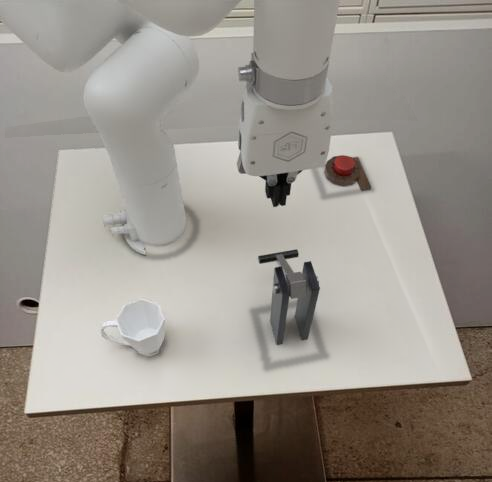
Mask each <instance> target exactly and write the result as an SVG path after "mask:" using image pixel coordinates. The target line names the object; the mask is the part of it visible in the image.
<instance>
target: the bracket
mask: <svg viewBox="0 0 492 482" xmlns="http://www.w3.org/2000/svg"><path fill="white" fill-rule="evenodd" d="M273 269H274V270H273V281H272V293H271V305H270V316H269V317H270V318H269V322H270V327H271V330H272V334H273V338H274V341H275V345H276V346H278V345H283V343H284V336H285V330H286V325H287V324H286V323H287V318H288V317H287V316H288V308H289V304H290V303H289V302H290V292H289V289H288V286H287V282H286V279H285V276H284V272H283V269H282V266H280V267H279V266H276V267H274V268H273ZM301 271H302V272H301V273H302V275H303V276H304V278H305V279H306V285H307V296H305V297H300V298H297V300H296V306H295V312H294V319H295V323H296V326H297V330H298V333H299V335H300V340H301V341H305V340H308V339H309V336H310V332H311V327H312V323H313V319H314V315H315V311H316V306H317V303H318V298H319V295H320V289H321V286H320V280H319V277H318V275H316V271H315V269H314V266H313V262H312V261H311V260H309V261H304V262H303V266H302V270H301Z"/></svg>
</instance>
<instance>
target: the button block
mask: <svg viewBox="0 0 492 482" xmlns="http://www.w3.org/2000/svg"><path fill="white" fill-rule="evenodd" d="M343 155H344V154H341V155H334V156H333V157H331V158H329V159H327V160H326V164H325V167H324V171H323V172H324V175H325V178H326V180H327V181H328V182H330V183H331V184H333V185H335V186H339V187H349V186H353V185H354V184H355V183H357V185H358V187H359V188H358V189H359V190H360V191H361V192H364V191H365V192H366V191H371V189H372V185H371V182H370V181H369V178H368V176H367V174H366V172H365V169H364V167H363V165H362V163H361V161H360V158H359V156H355V157H352V156H350V157H351V158H352V159H353V160H354V162H355V164H354V168H353V172H352V174H351V175H349V176H345V177H343V176H339V175H337V174H336V173H335V172H334V169H333V168H334V163H335V160H336V158H337V157H339V156H343Z"/></svg>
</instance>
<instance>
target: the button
mask: <svg viewBox="0 0 492 482" xmlns="http://www.w3.org/2000/svg"><path fill="white" fill-rule="evenodd" d="M342 155H343V156H340V155H338V156H339V157H337V158H336V160H335V163H334V168H332V169H333V172H334V173H335V174H337V175H339V176H343V177H345V176H350V175H351V174H353V168H354V164H355V162H354V160H353V159H352V158H353V157H352V156H350V155H344V154H342ZM351 157H352V158H351Z"/></svg>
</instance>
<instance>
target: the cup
mask: <svg viewBox="0 0 492 482" xmlns="http://www.w3.org/2000/svg"><path fill="white" fill-rule="evenodd" d="M100 326H101V327H100V334H101V337H102V338H103V339H105V340H106V341H109V342H111V343H115V344H119V345H123V346H128V347H132V348H133V349H135V350H136V351H138V354H140V355H143V356H145V357H148V358H150V357H152V356H155V355H157V354H160V352H161V346H162V344H163V342H164V341H165V336H166V318H165V314H164V313H163V310H162V307H161V305H160V303H158V302H155V301H153V300H149V299H146V298H144V297H141V298H139V299H136V300H133V301H130V302H127V303H125V304H123V306H122V308H121V309H120V311H119V313H118V315H117V317H116V318H115V319H114V320H106V321H104V322H103V323H101V325H100ZM108 327H112V328H113V327H114V328H118V330H119V333H120V336H121V337H122V338H120V337H116V336H113V335H111V334H108V333H107V332H106V331H105V329H106V328H108Z"/></svg>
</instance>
